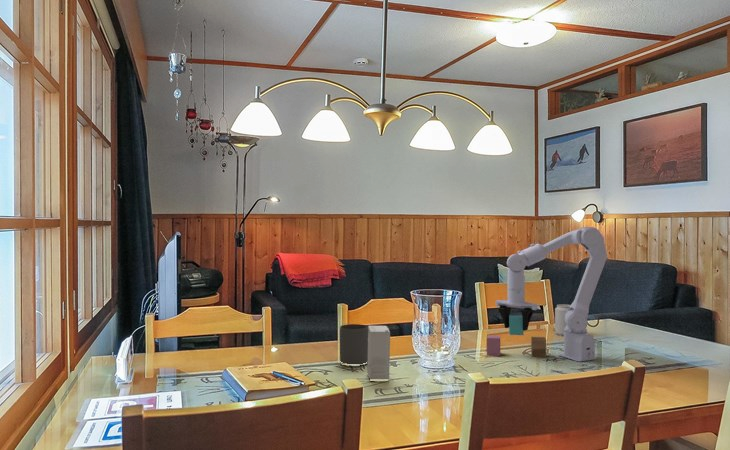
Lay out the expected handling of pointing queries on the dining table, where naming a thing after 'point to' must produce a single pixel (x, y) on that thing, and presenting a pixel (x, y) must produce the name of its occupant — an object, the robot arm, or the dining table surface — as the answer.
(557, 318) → the can
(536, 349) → the walnut block
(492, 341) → the plum block
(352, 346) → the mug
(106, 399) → the dining table surface
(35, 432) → the dining table surface
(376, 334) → the skincare box
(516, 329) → the teal block
